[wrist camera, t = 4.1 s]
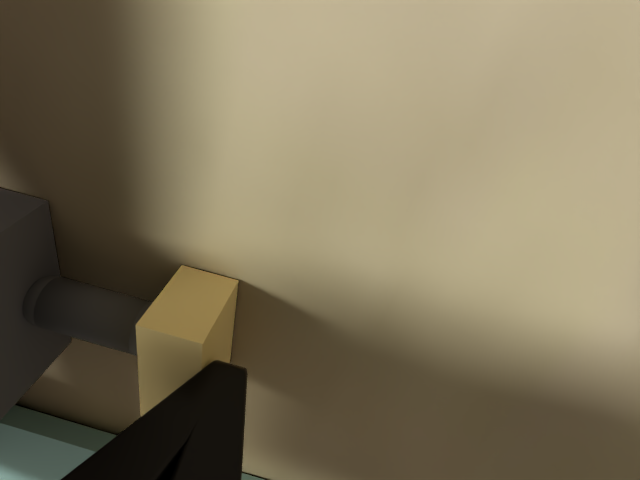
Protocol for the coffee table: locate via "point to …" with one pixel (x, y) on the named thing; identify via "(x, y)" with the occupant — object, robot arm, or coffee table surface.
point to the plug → (100, 313)
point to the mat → (47, 445)
